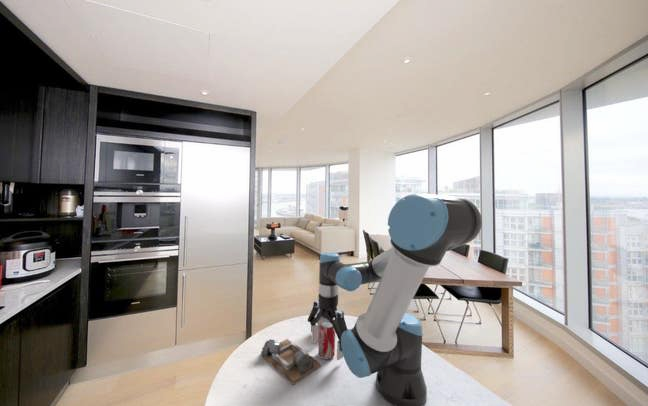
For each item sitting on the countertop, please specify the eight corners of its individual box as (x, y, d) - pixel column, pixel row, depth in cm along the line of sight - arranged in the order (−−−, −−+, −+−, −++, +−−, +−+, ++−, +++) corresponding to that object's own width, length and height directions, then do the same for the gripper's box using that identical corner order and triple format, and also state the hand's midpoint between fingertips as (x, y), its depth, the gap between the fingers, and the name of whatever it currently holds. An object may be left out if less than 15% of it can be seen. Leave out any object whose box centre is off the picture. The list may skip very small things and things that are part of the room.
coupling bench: (320, 366, 81) (321, 352, 81) (293, 384, 73) (294, 368, 73) (287, 341, 96) (287, 329, 96) (261, 354, 87) (261, 340, 87)
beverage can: (333, 362, 84) (334, 329, 84) (316, 359, 85) (317, 326, 85) (335, 351, 90) (336, 321, 90) (320, 349, 92) (321, 318, 92)
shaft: (282, 350, 88) (283, 339, 88) (276, 359, 83) (276, 348, 83) (269, 347, 90) (269, 337, 90) (262, 356, 84) (262, 345, 84)
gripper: (361, 301, 82) (359, 361, 82) (313, 282, 99) (312, 332, 99) (347, 307, 76) (345, 371, 76) (300, 286, 94) (298, 338, 94)
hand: (326, 349), depth 88 cm, fingers open, 13 cm apart
